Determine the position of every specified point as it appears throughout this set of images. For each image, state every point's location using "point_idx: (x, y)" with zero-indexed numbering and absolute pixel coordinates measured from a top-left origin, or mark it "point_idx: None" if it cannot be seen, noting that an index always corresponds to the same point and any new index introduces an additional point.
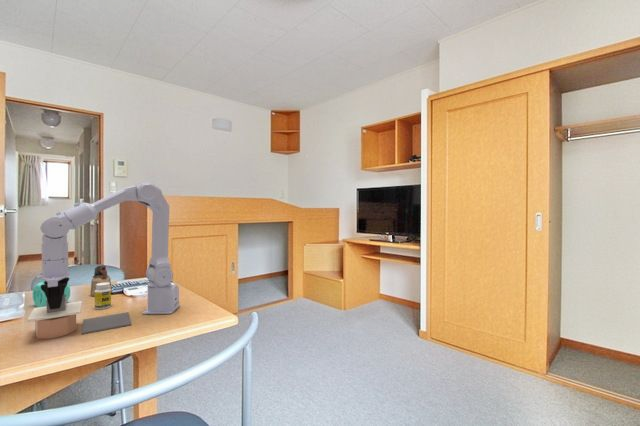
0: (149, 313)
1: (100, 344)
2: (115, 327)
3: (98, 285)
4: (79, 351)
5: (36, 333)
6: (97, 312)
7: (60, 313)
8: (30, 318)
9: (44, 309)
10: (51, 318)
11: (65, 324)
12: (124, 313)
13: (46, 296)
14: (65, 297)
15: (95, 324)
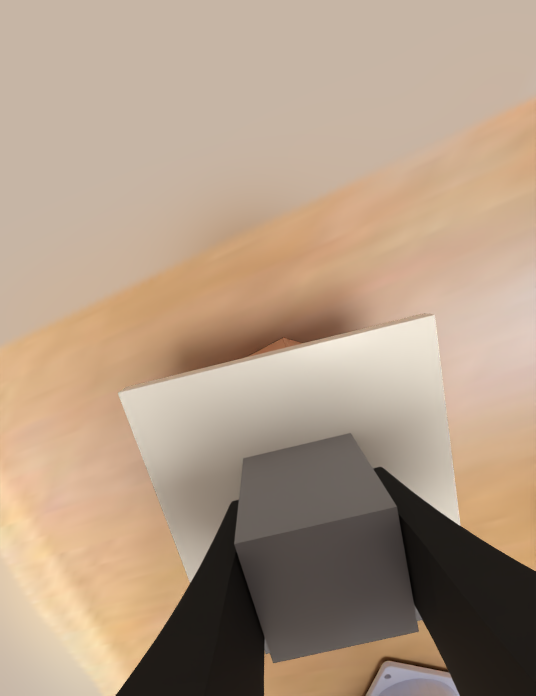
0: (373, 685)
1: (99, 596)
2: None
3: None
4: (50, 553)
5: (262, 352)
6: (510, 493)
7: (203, 541)
8: (147, 400)
9: (350, 408)
10: None
11: None
12: (415, 609)
13: (156, 640)
14: (318, 645)
15: None
